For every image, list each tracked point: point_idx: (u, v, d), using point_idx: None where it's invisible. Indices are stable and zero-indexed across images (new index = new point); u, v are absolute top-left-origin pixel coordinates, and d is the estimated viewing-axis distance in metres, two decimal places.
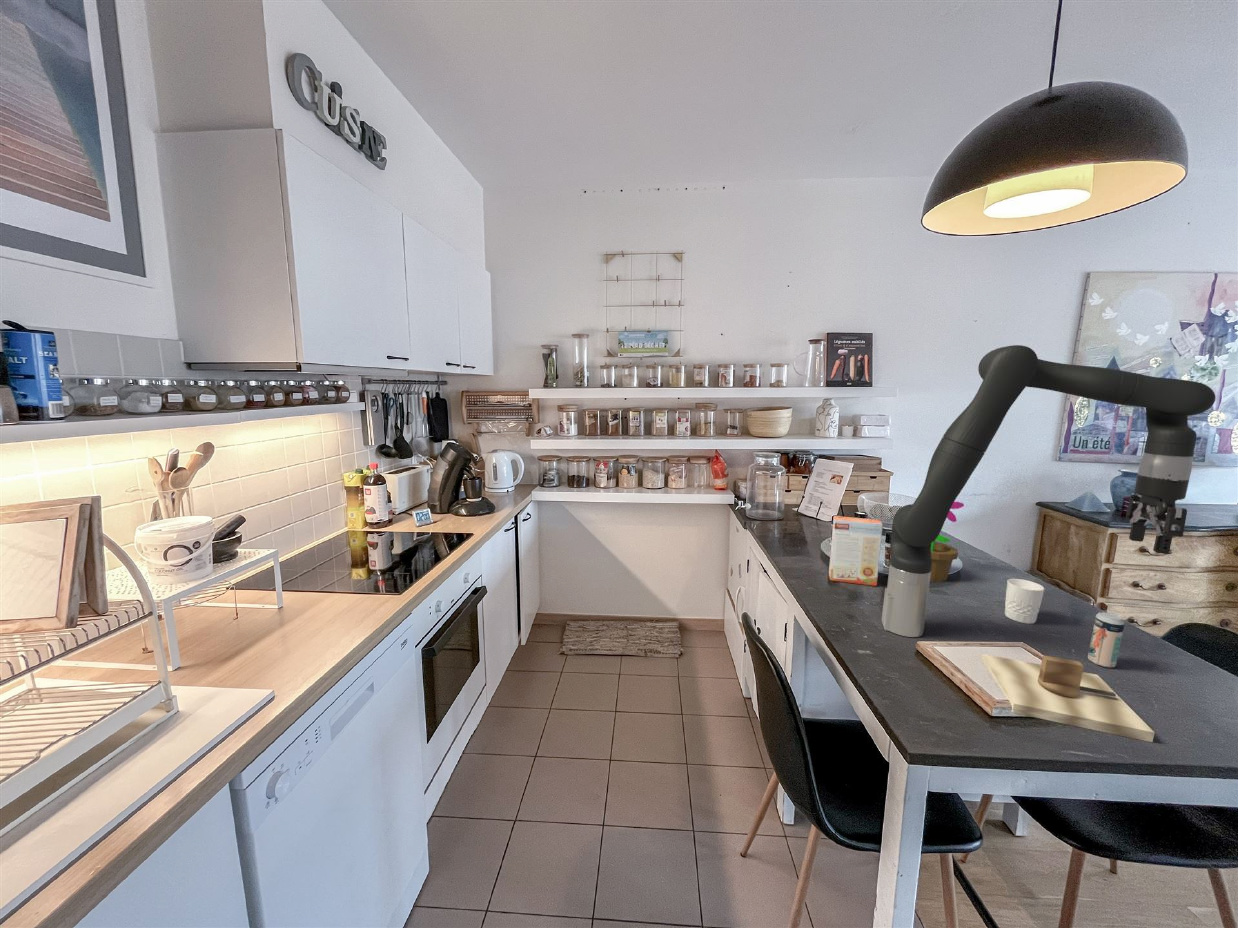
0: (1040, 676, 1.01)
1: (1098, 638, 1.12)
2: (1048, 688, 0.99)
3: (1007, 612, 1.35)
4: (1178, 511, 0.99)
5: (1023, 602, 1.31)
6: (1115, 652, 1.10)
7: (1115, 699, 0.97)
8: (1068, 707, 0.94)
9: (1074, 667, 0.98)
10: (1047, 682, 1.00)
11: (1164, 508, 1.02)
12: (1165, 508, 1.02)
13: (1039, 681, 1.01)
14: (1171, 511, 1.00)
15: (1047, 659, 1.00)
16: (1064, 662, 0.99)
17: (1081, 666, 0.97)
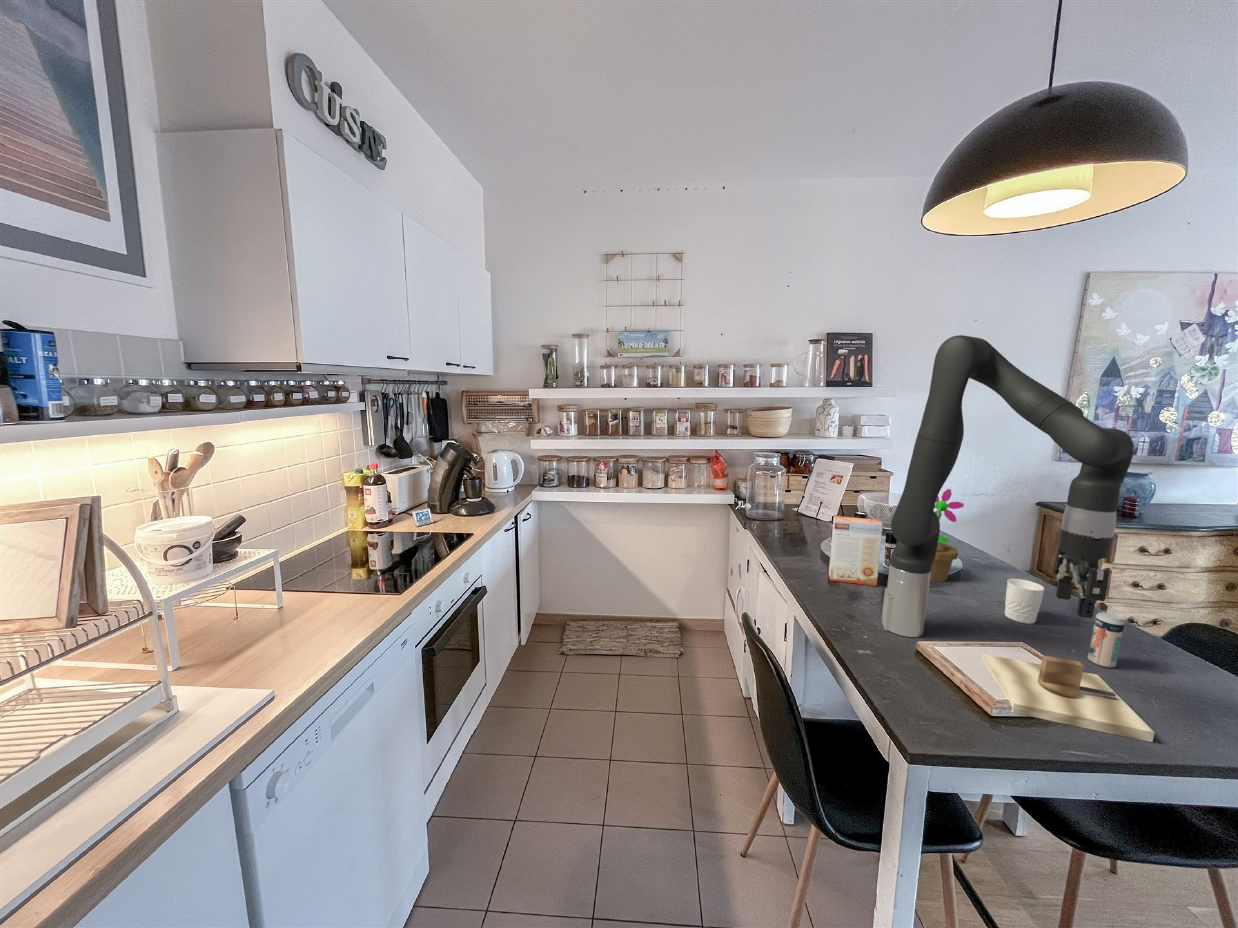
0: (1040, 676, 1.01)
1: (1098, 638, 1.12)
2: (1048, 688, 0.99)
3: (1007, 612, 1.35)
4: (1099, 573, 0.89)
5: (1023, 602, 1.31)
6: (1115, 652, 1.10)
7: (1115, 699, 0.97)
8: (1068, 707, 0.94)
9: (1074, 667, 0.98)
10: (1047, 682, 1.00)
11: (1086, 568, 0.92)
12: (1087, 568, 0.92)
13: (1039, 681, 1.01)
14: (1092, 572, 0.90)
15: (1047, 659, 1.00)
16: (1064, 662, 0.99)
17: (1081, 666, 0.97)
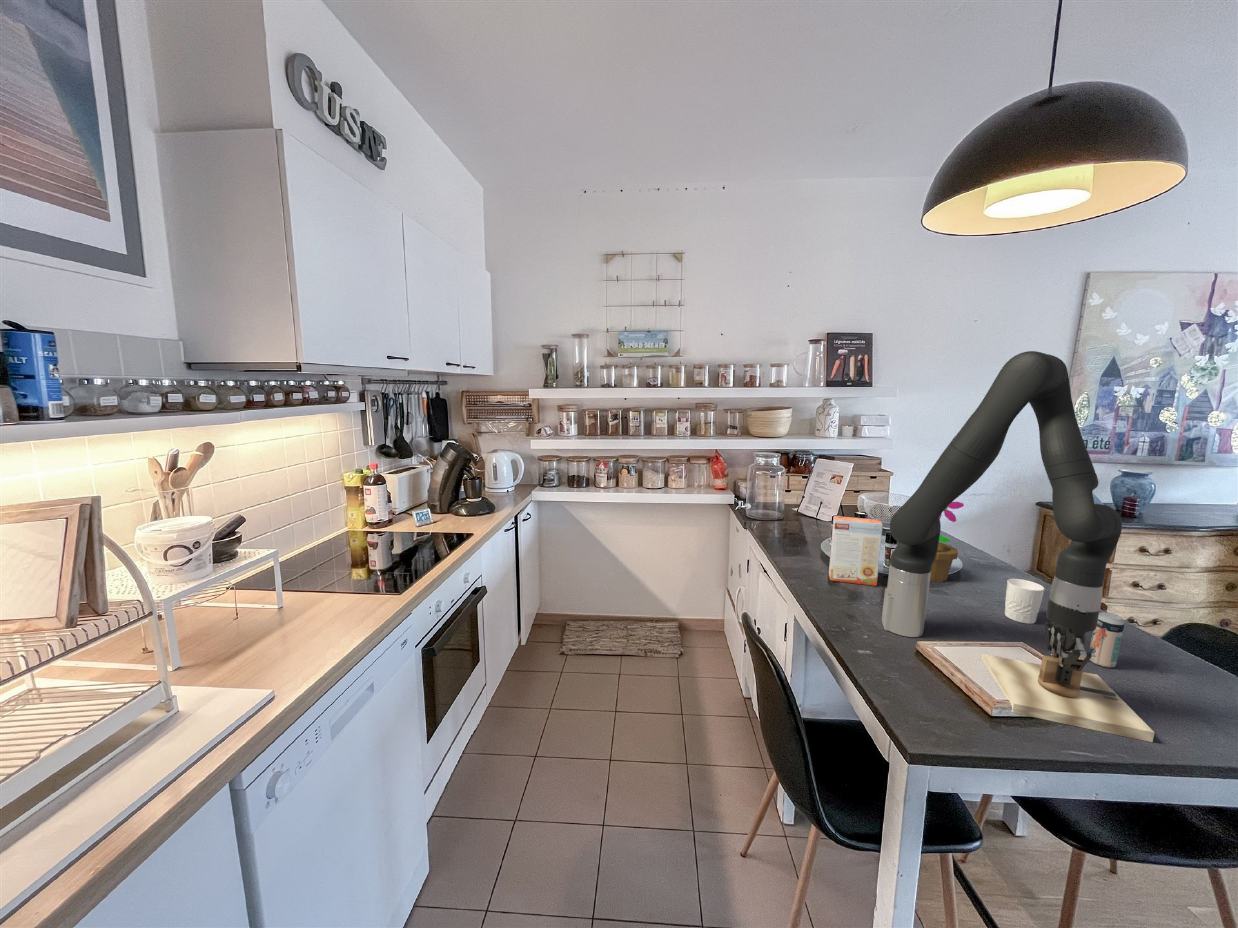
0: (1040, 676, 1.01)
1: (1098, 638, 1.12)
2: (1048, 688, 0.99)
3: (1007, 612, 1.35)
4: (1082, 656, 0.93)
5: (1023, 602, 1.31)
6: (1115, 652, 1.10)
7: (1115, 699, 0.97)
8: (1068, 707, 0.94)
9: None
10: (1047, 682, 1.00)
11: (1072, 642, 0.95)
12: (1073, 643, 0.95)
13: (1039, 681, 1.01)
14: (1074, 654, 0.93)
15: (1047, 659, 1.00)
16: None
17: None
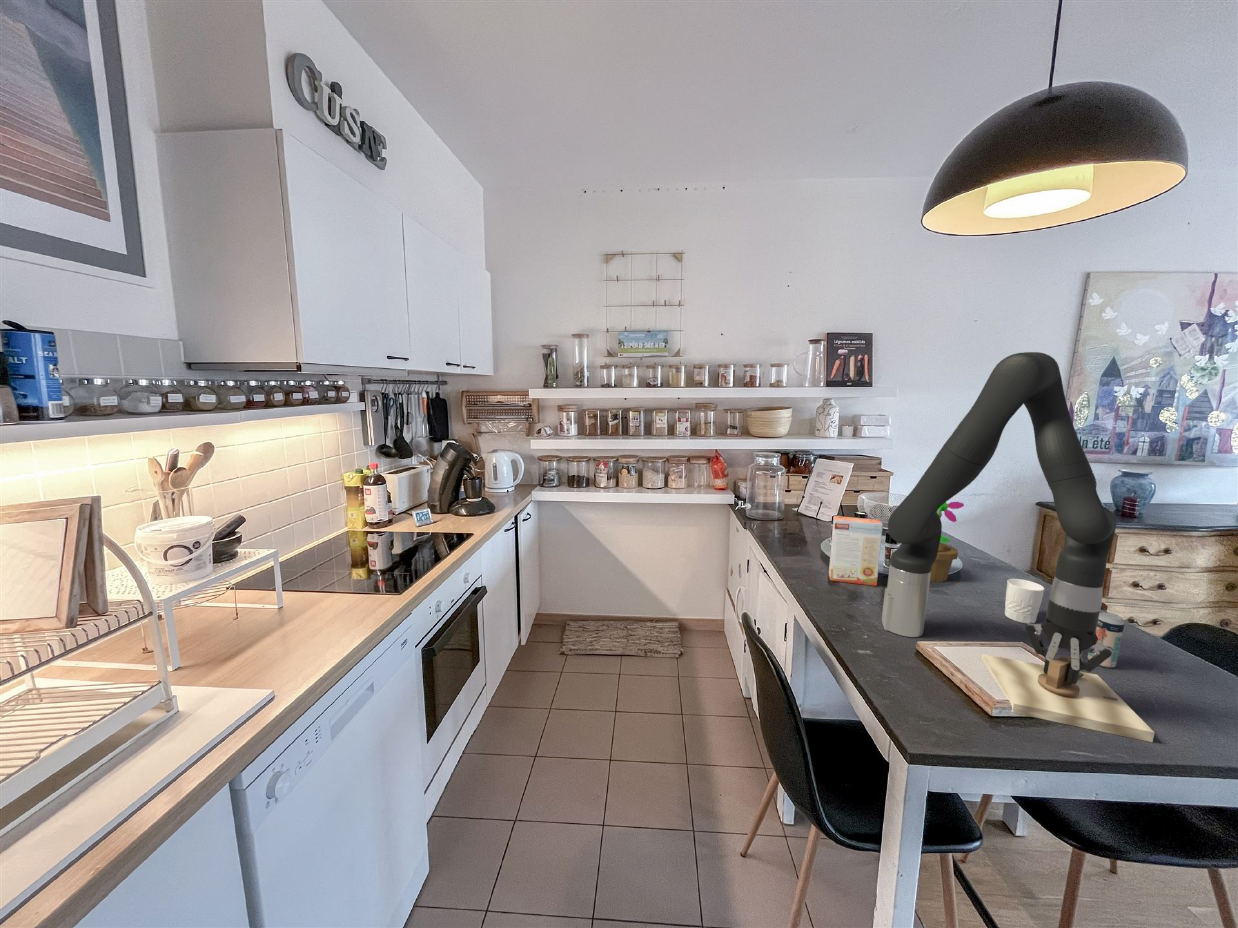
0: (1049, 683, 0.99)
1: (1098, 638, 1.12)
2: (1064, 694, 0.97)
3: (1007, 612, 1.35)
4: None
5: (1023, 602, 1.31)
6: (1115, 652, 1.10)
7: (1115, 699, 0.97)
8: (1068, 707, 0.94)
9: None
10: (1058, 687, 0.98)
11: (1094, 643, 0.95)
12: (1094, 643, 0.95)
13: (1050, 688, 0.99)
14: (1109, 655, 0.93)
15: (1059, 665, 0.98)
16: (1066, 662, 0.99)
17: None
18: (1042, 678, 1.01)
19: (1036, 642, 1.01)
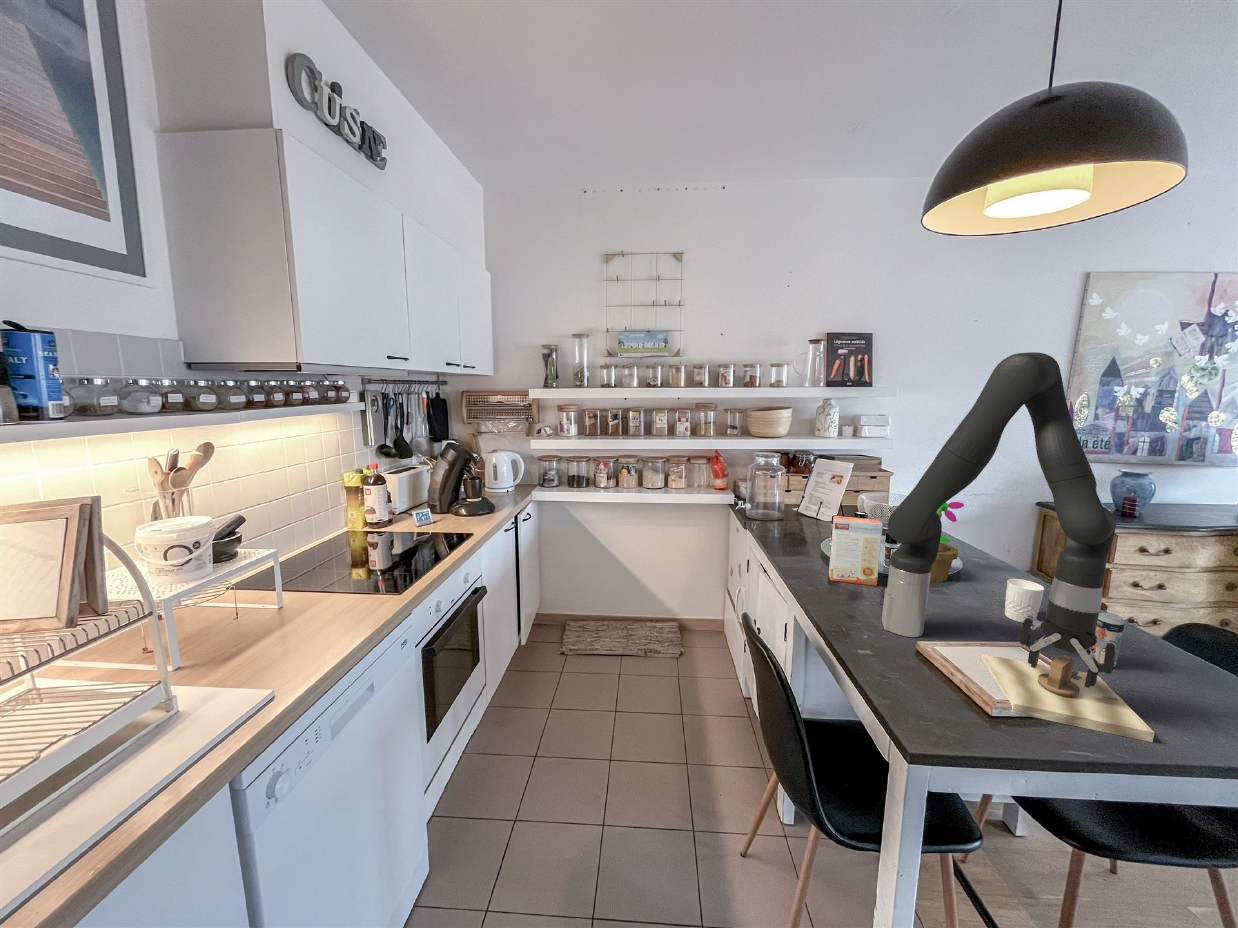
0: (1050, 684, 0.99)
1: (1098, 638, 1.12)
2: (1066, 694, 0.97)
3: (1007, 612, 1.35)
4: (1115, 646, 0.93)
5: (1023, 602, 1.31)
6: None
7: (1115, 699, 0.97)
8: (1068, 707, 0.94)
9: (1071, 663, 0.99)
10: (1060, 688, 0.98)
11: (1094, 642, 0.95)
12: (1095, 642, 0.95)
13: (1052, 689, 0.99)
14: (1114, 648, 0.92)
15: (1061, 666, 0.97)
16: (1066, 662, 0.99)
17: (1073, 659, 1.00)
18: (1042, 679, 1.01)
19: (1026, 634, 1.03)
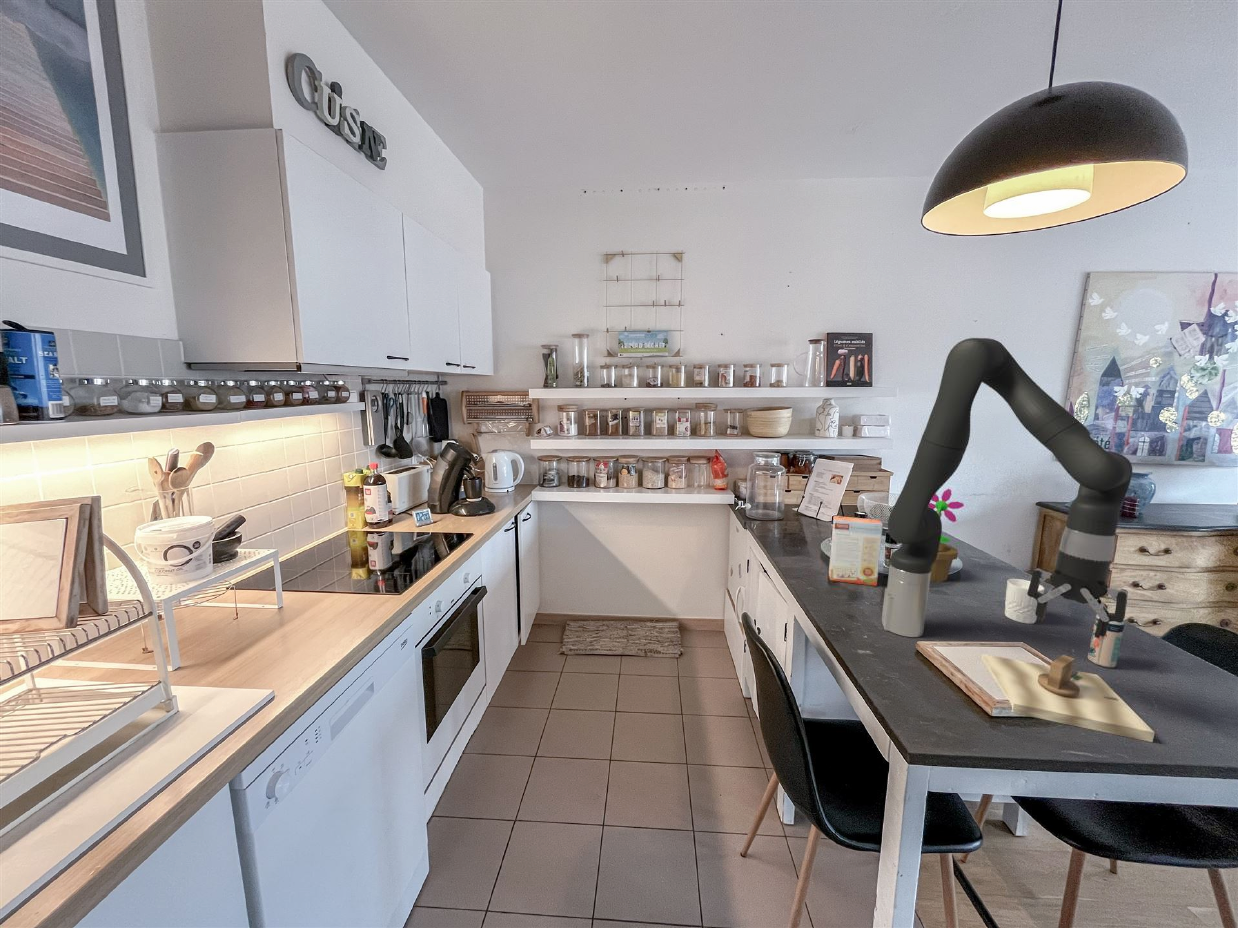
0: (1051, 684, 0.99)
1: (1098, 638, 1.12)
2: (1066, 694, 0.97)
3: (1007, 612, 1.35)
4: (1126, 595, 0.91)
5: (1023, 602, 1.31)
6: (1115, 652, 1.10)
7: (1115, 699, 0.97)
8: (1068, 707, 0.94)
9: (1071, 663, 0.99)
10: (1060, 688, 0.98)
11: (1105, 591, 0.93)
12: (1106, 591, 0.93)
13: (1052, 689, 0.99)
14: (1126, 596, 0.90)
15: (1061, 666, 0.97)
16: (1066, 662, 0.99)
17: (1073, 659, 1.00)
18: (1042, 679, 1.01)
19: (1034, 586, 1.01)
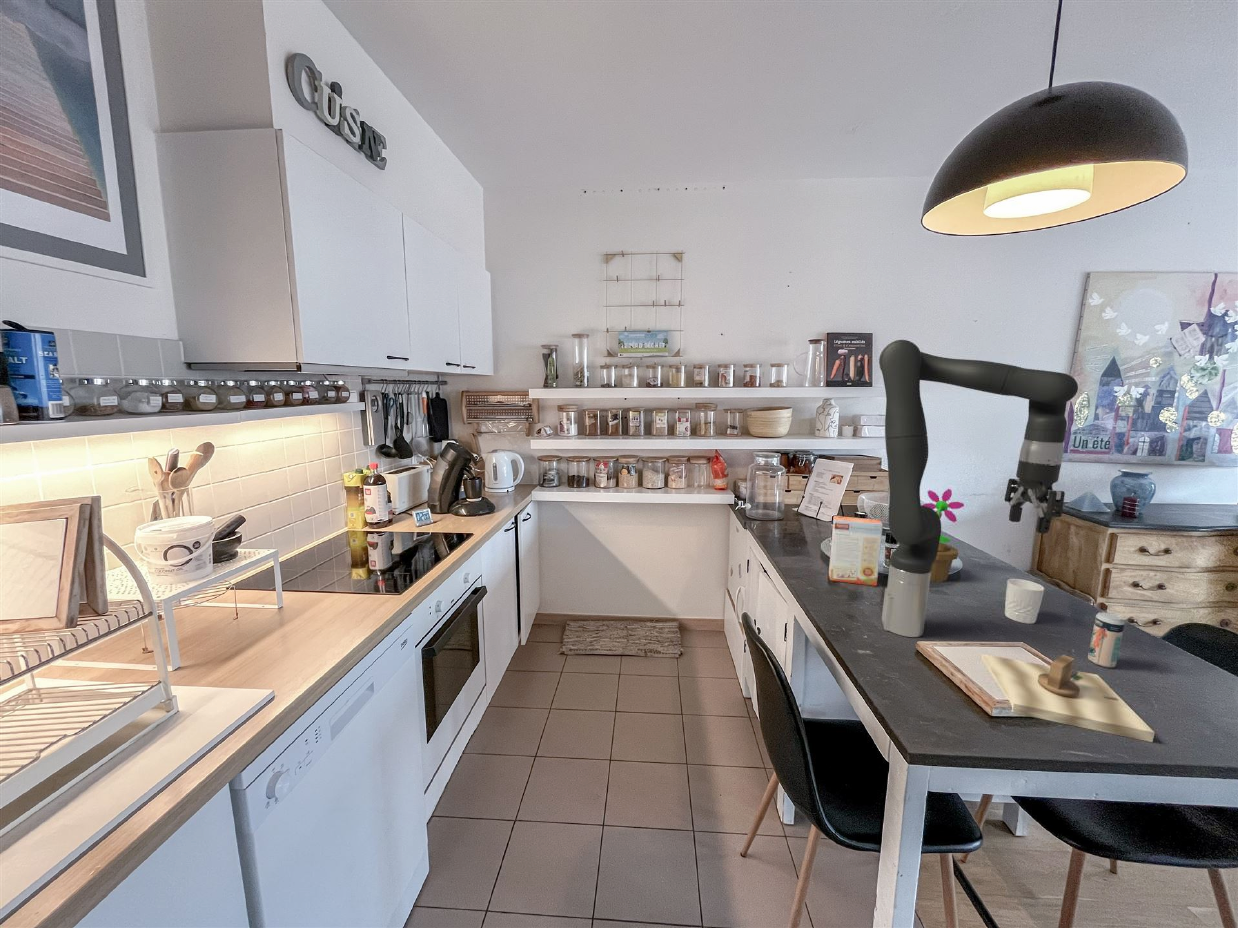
0: (1051, 684, 0.99)
1: (1098, 638, 1.12)
2: (1066, 694, 0.97)
3: (1007, 612, 1.35)
4: (1058, 494, 1.06)
5: (1023, 602, 1.31)
6: (1115, 652, 1.10)
7: (1115, 699, 0.97)
8: (1068, 707, 0.94)
9: (1071, 663, 0.99)
10: (1060, 688, 0.98)
11: (1044, 491, 1.09)
12: (1045, 491, 1.09)
13: (1052, 689, 0.99)
14: (1053, 494, 1.07)
15: (1061, 666, 0.97)
16: (1066, 662, 0.99)
17: (1073, 659, 1.00)
18: (1042, 679, 1.01)
19: (1008, 492, 1.20)
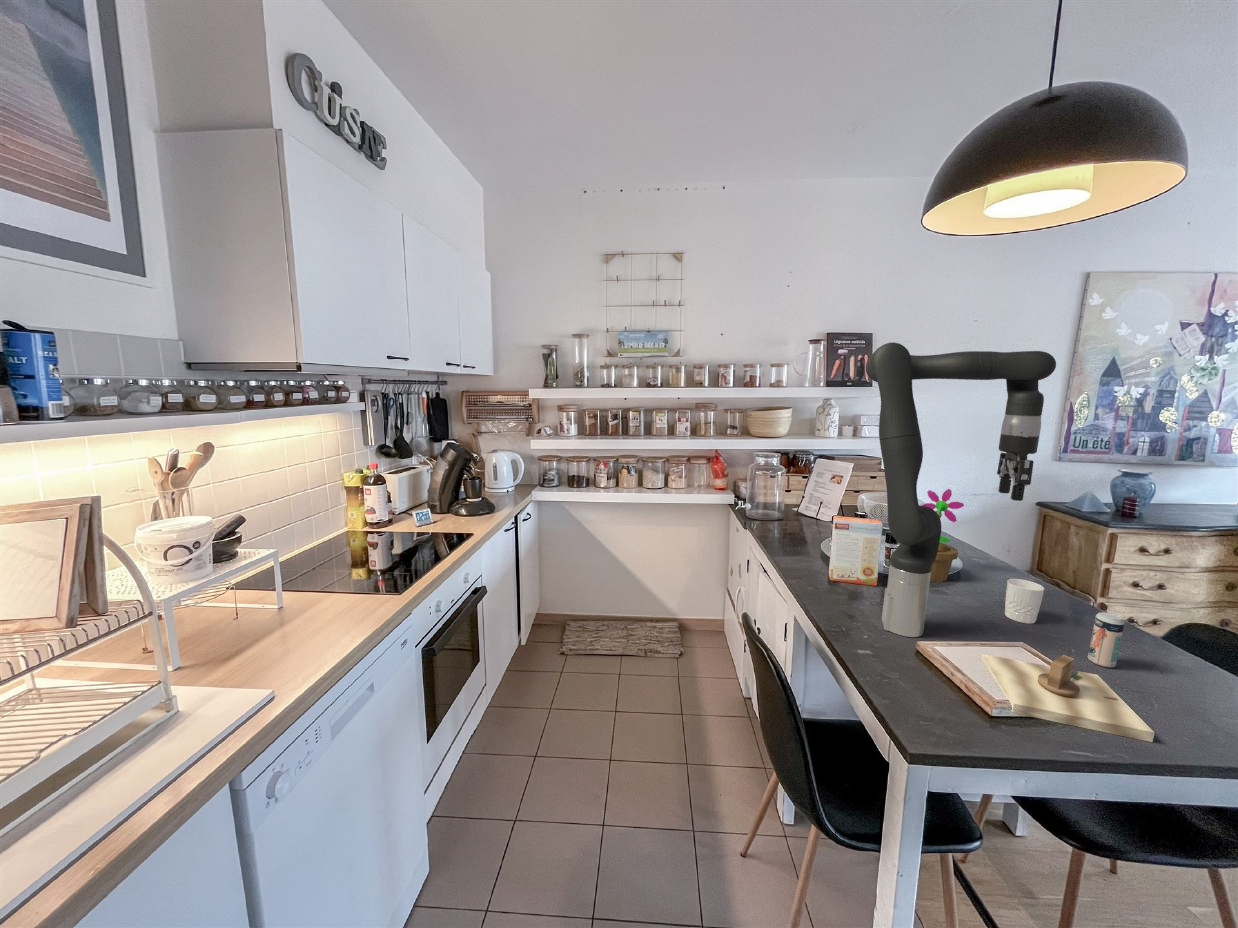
0: (1051, 684, 0.99)
1: (1098, 638, 1.12)
2: (1066, 694, 0.97)
3: (1007, 612, 1.35)
4: (1026, 462, 1.15)
5: (1023, 602, 1.31)
6: (1115, 652, 1.10)
7: (1115, 699, 0.97)
8: (1068, 707, 0.94)
9: (1071, 663, 0.99)
10: (1060, 688, 0.98)
11: (1018, 461, 1.18)
12: (1019, 461, 1.18)
13: (1052, 689, 0.99)
14: (1020, 462, 1.16)
15: (1061, 666, 0.97)
16: (1066, 662, 0.99)
17: (1073, 659, 1.00)
18: (1042, 679, 1.01)
19: (999, 465, 1.28)
